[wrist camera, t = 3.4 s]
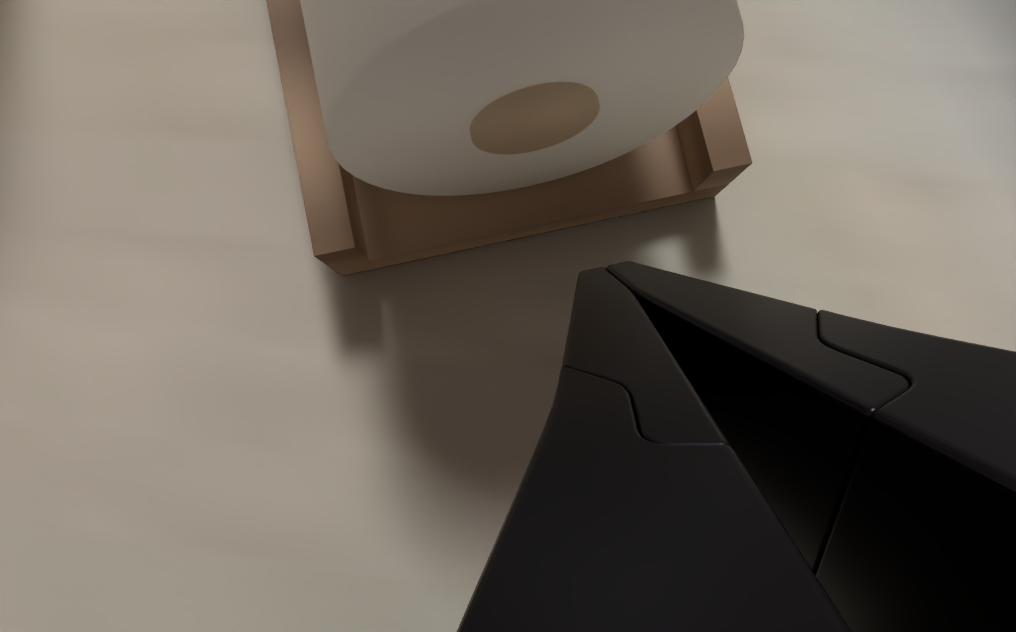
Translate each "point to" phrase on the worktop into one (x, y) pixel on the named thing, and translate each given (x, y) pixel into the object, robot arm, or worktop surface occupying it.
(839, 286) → the worktop surface
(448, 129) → the kitchen roll
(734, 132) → the brown tray
